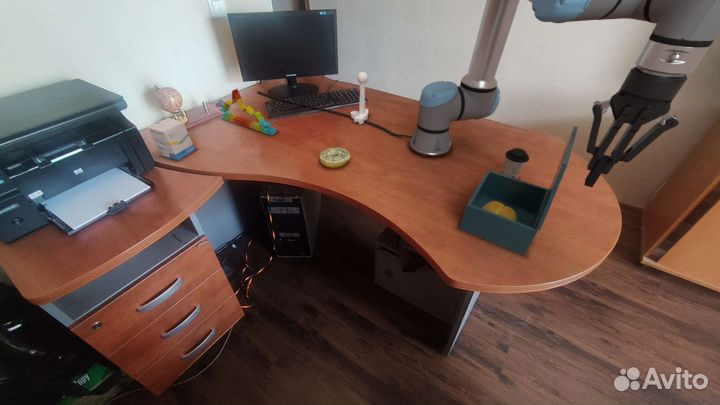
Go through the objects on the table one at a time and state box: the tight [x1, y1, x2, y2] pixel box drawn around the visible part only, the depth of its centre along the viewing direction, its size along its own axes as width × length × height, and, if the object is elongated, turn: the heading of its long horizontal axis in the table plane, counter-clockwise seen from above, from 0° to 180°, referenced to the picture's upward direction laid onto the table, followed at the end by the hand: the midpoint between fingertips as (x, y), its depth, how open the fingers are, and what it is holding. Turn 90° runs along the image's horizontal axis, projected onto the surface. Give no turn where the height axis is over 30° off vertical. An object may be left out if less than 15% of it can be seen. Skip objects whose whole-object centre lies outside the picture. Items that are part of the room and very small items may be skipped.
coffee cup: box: [501, 147, 530, 179], centre depth 94 cm, size 7×7×10 cm
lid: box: [536, 125, 579, 231], centre depth 68 cm, size 18×19×1 cm
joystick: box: [350, 71, 369, 125], centre depth 126 cm, size 11×8×20 cm
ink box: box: [147, 117, 196, 161], centre depth 107 cm, size 9×8×12 cm
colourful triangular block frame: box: [219, 88, 277, 136], centre depth 123 cm, size 30×3×15 cm, turn 58°
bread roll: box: [482, 201, 517, 221], centre depth 81 cm, size 8×9×4 cm
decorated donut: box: [319, 146, 351, 169], centre depth 105 cm, size 10×11×4 cm
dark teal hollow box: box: [458, 169, 549, 256], centre depth 80 cm, size 17×19×9 cm
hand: (588, 183), depth 64 cm, fingers closed
